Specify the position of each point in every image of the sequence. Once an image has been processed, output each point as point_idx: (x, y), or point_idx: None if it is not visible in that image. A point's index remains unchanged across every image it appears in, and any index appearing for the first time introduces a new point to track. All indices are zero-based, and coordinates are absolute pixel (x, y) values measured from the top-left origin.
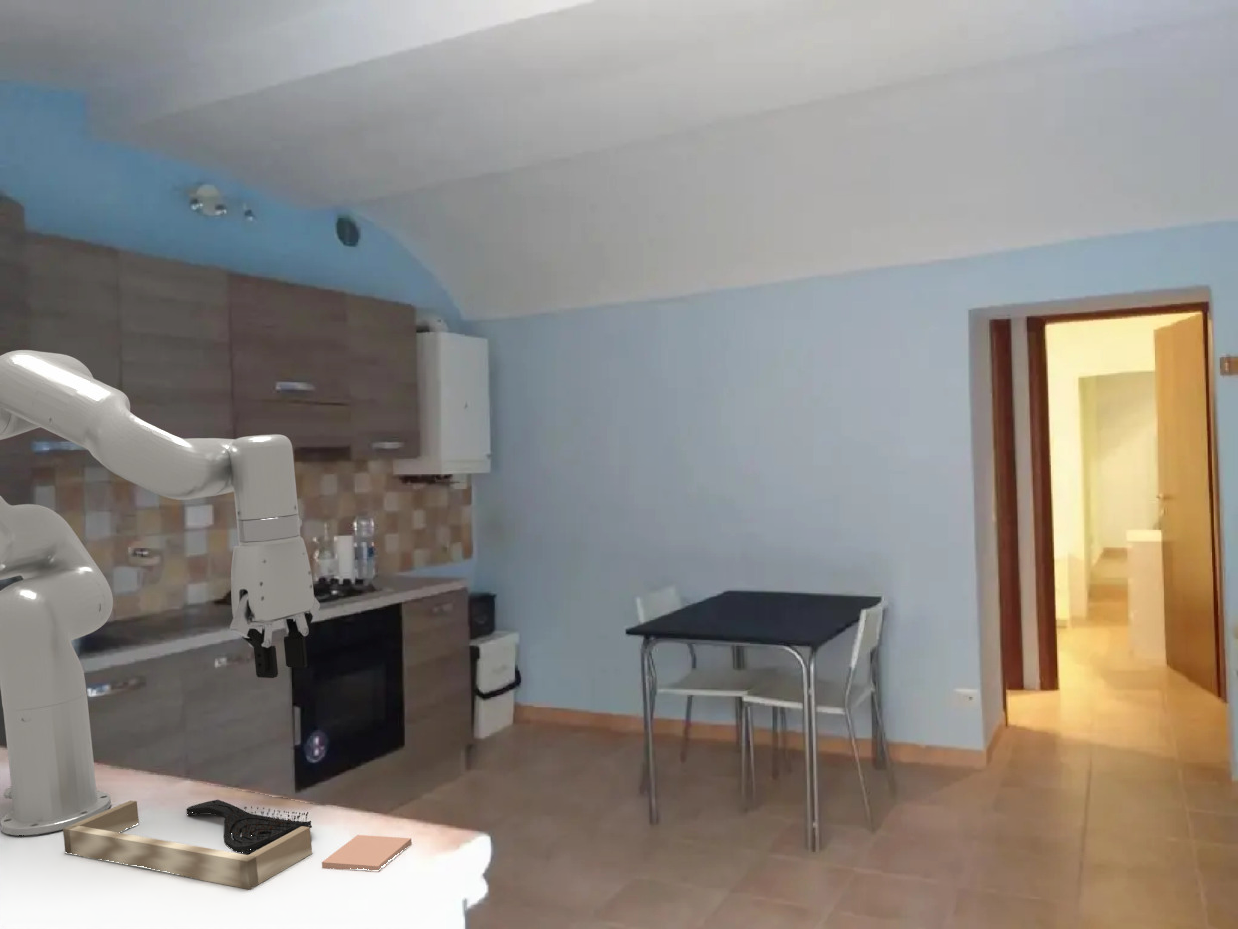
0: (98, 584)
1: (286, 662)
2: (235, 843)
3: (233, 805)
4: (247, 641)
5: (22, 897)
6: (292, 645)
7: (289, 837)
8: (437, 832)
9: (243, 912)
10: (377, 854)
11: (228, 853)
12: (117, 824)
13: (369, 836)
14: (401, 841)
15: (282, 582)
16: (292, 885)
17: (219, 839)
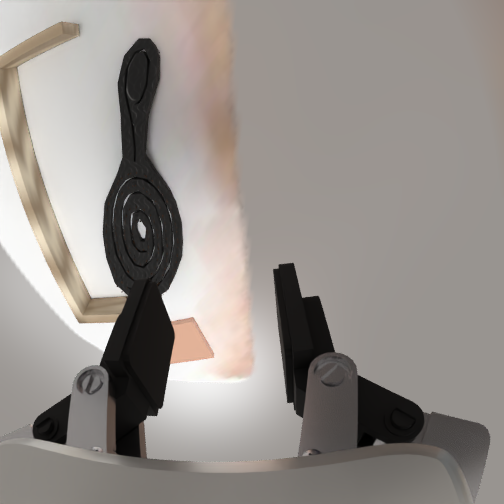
0: None
1: (274, 278)
2: (107, 225)
3: (142, 147)
4: (63, 400)
5: None
6: (283, 358)
7: None
8: (242, 355)
9: (75, 325)
10: (177, 354)
11: (71, 299)
12: (46, 47)
13: (196, 331)
14: (205, 355)
15: None
16: (113, 327)
17: (108, 182)
